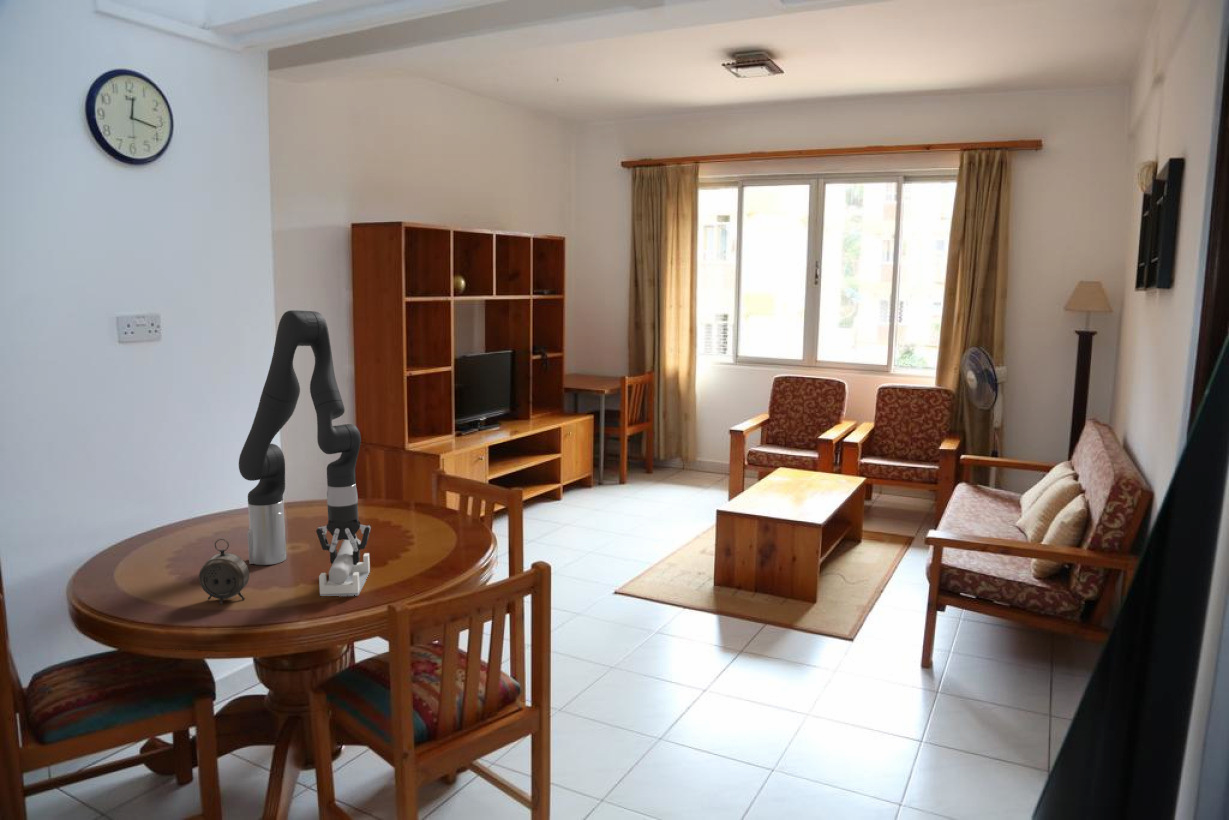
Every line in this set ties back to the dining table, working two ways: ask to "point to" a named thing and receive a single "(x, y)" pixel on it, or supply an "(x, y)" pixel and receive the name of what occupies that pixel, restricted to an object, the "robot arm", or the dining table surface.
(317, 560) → the dining table surface
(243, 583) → the alarm clock
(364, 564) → the cradle
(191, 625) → the dining table surface
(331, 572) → the tube
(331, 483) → the robot arm
